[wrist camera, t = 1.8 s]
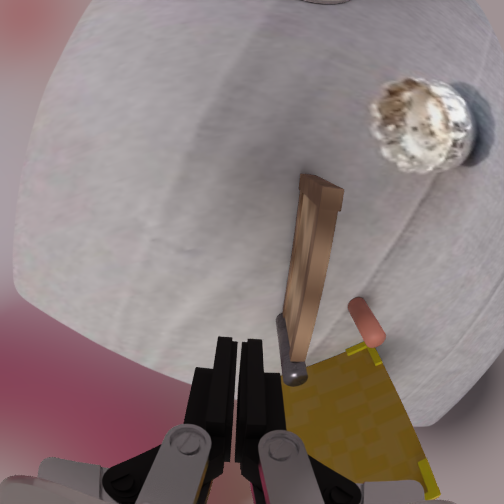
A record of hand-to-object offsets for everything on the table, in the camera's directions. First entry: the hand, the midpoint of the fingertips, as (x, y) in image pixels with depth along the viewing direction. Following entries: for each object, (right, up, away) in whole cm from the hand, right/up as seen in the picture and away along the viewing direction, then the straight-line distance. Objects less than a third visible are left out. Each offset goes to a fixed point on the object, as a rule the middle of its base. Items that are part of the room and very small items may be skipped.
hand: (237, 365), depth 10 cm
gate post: (+5, -4, +23) cm, 24 cm away
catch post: (+14, -2, +23) cm, 27 cm away
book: (+11, -14, +27) cm, 33 cm away
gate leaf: (+6, +5, +20) cm, 21 cm away
